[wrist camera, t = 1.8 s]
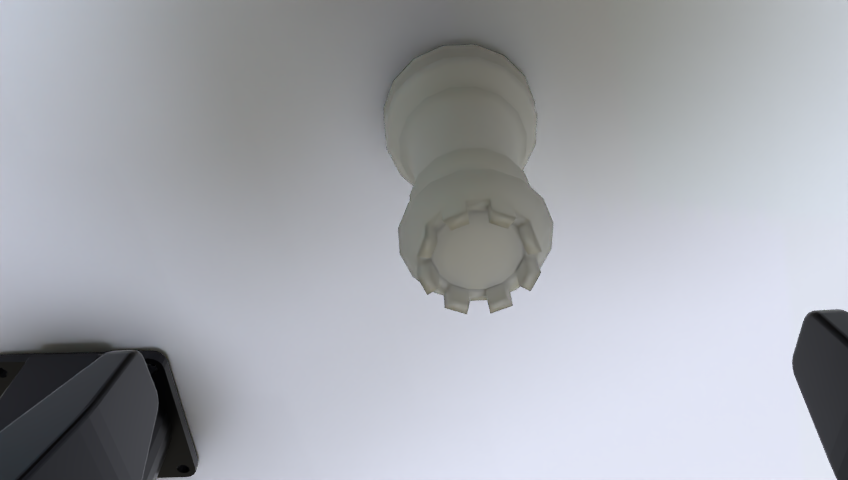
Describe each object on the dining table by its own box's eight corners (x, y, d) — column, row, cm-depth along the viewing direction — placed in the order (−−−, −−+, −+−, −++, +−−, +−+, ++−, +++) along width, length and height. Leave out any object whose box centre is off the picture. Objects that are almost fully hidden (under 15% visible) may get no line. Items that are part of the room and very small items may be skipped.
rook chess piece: (356, 136, 20) (326, 294, 14) (434, 7, 18) (445, 118, 12) (478, 203, 22) (505, 378, 15) (563, 89, 20) (640, 232, 13)
